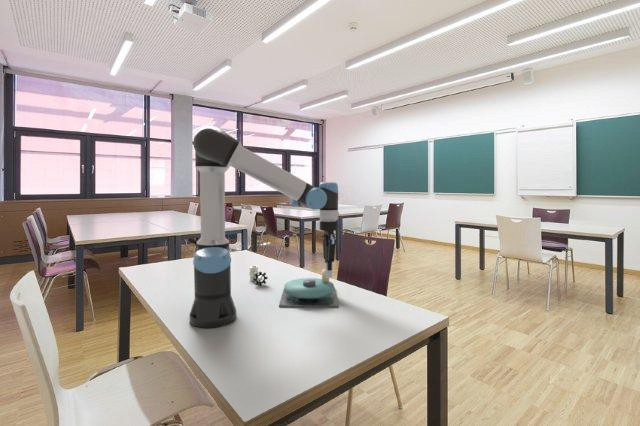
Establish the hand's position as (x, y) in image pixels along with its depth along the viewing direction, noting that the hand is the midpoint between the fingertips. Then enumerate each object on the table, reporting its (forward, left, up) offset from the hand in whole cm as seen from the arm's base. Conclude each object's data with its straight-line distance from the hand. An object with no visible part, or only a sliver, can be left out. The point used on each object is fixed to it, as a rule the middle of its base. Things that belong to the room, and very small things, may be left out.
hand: (328, 277), depth 137 cm
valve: (+17, +33, -8) cm, 38 cm away
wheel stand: (-2, +8, -8) cm, 11 cm away
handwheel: (-2, +8, -5) cm, 10 cm away
